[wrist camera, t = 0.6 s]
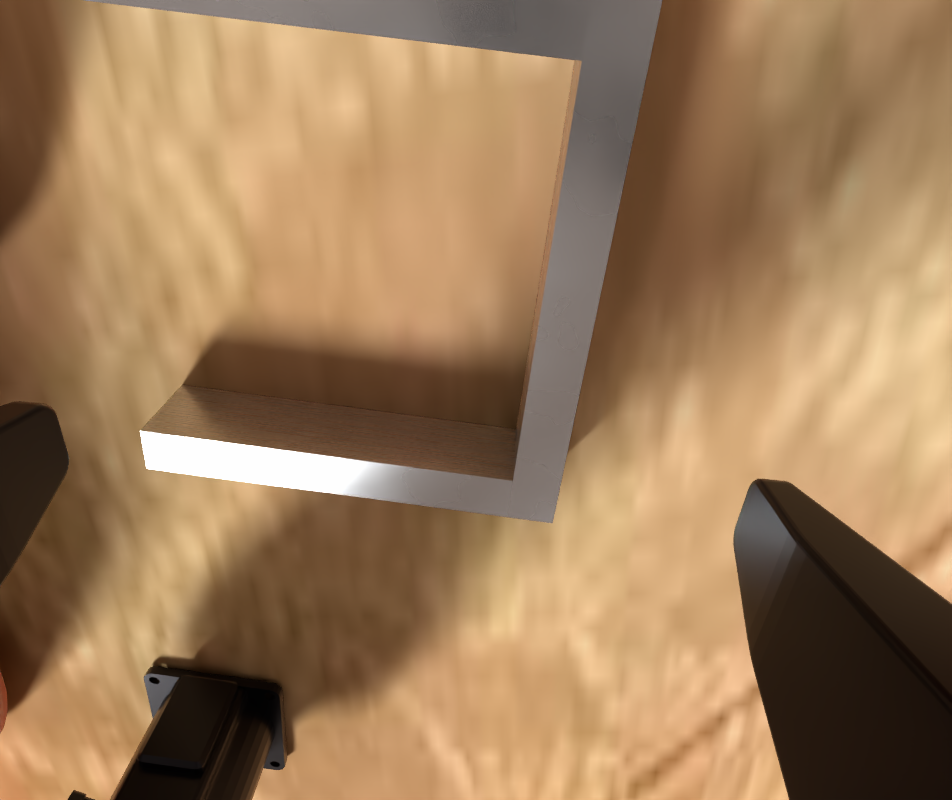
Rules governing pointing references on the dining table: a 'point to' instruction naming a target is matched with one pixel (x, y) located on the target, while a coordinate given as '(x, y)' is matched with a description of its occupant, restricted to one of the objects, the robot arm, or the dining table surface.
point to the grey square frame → (558, 301)
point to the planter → (3, 702)
